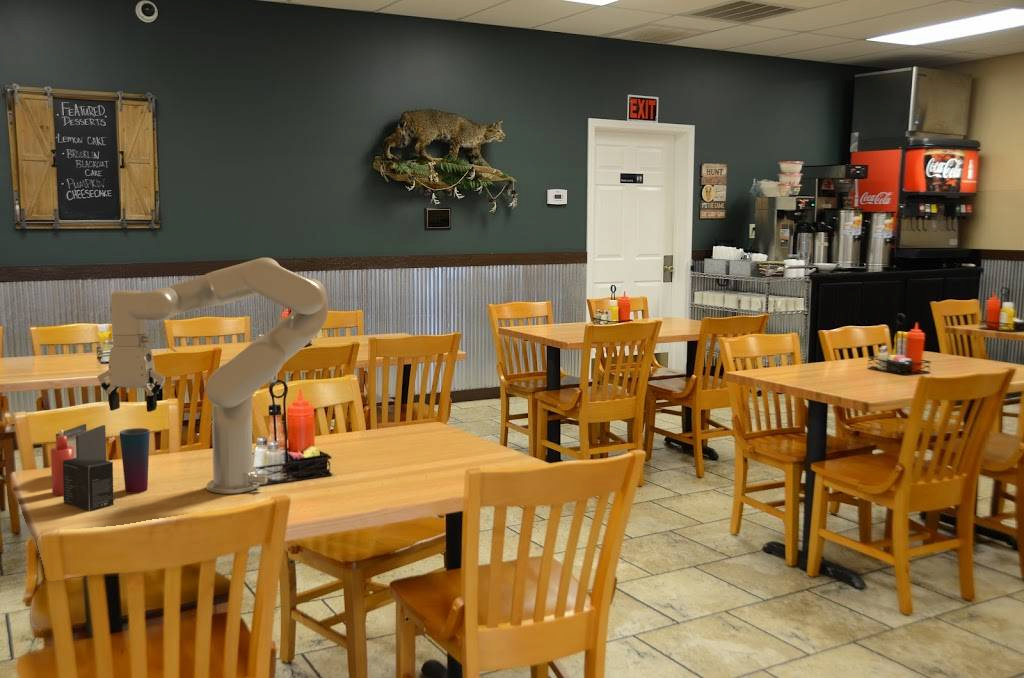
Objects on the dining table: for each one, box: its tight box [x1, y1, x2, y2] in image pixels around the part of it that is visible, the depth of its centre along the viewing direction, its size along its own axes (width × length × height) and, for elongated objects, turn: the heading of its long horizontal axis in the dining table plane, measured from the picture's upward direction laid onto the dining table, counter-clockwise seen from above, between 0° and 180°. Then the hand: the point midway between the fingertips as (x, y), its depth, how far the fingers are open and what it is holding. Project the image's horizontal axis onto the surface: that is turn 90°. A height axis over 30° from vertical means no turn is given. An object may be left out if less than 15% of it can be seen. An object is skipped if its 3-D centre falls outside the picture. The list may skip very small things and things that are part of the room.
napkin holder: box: [55, 423, 108, 461], centre depth 229 cm, size 6×12×12 cm, turn 173°
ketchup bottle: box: [50, 429, 74, 497], centre depth 215 cm, size 5×5×16 cm
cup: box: [119, 427, 151, 494], centre depth 218 cm, size 7×7×15 cm
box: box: [63, 456, 114, 512], centre depth 207 cm, size 11×7×10 cm, turn 58°
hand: (133, 410), depth 217 cm, fingers open, 9 cm apart
